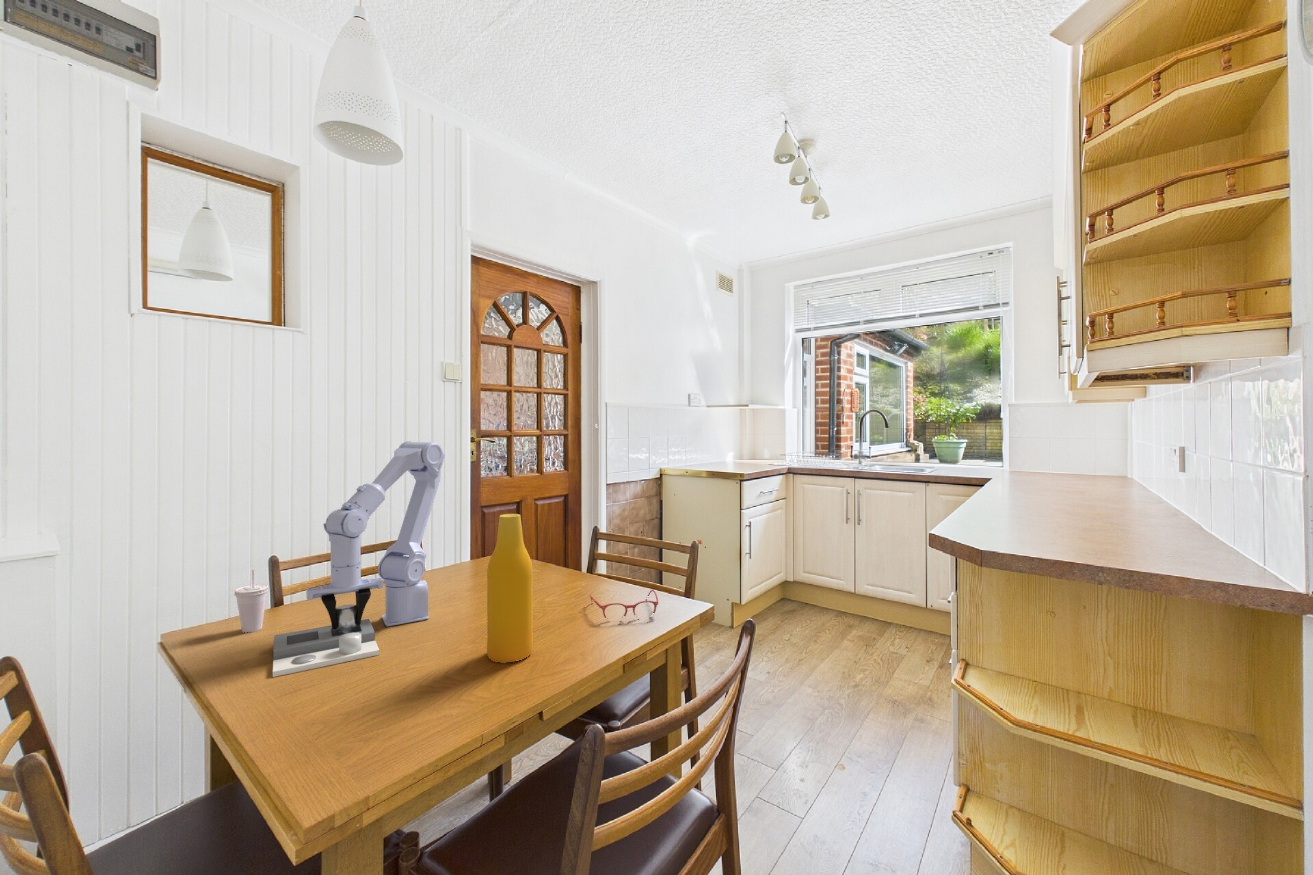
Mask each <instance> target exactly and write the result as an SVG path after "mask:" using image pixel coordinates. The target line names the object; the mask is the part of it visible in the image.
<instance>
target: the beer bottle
mask: <svg viewBox="0 0 1313 875" xmlns="http://www.w3.org/2000/svg"><path fill="white" fill-rule="evenodd" d="M533 568H534V567H533V563H532V558H531V557H530V555H529V552H528V550H527V548H526V545H525V543H524V535H523V526H522V518H521V514H518V513H504V514H500V515H499V518H498V526H497V536H496V543H495V548H494V550H493V551H492V554H491V556H490V559H489V561H488V564H487V568H486V600H487V601H486V603H487V604H486V612H487V615H486V617H487V620H486V624H487V625H486V626H487V627H486V628H487V632H486V633H487V634H486V639H487V640H486V651H487V652H486V653H487V657H488V659H489V660H490V659H491V660H490V661H492V660H493V661H492V662H494V661H496V662H495V663H497V662H513V661H516V660H520V659H523V658H526V657H527V656H529V655H530V654H531V655H532V653H533V649H534V635H533V634H534V633H533V632H534V627H533V625H534V621H533V618H534V617H533V616H534V612H533V611H534V608H533V607H534V606H533V605H534V604H533V603H534V602H533V601H534V600H533V599H534V596H533V594H534V593H533V592H534V591H533V588H534V586H533V584H534V583H533V582H534V581H533V580H534V579H533V578H534V577H533V575H534V574H533V573H534V572H533V571H534V569H533ZM531 652H532V653H531ZM531 655H530V656H531ZM530 656H529V657H530ZM527 658H528V657H527ZM527 658H526V659H527ZM513 663H514V662H513Z"/></svg>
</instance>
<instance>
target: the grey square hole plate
mask: <svg viewBox="0 0 1313 875" xmlns="http://www.w3.org/2000/svg"><path fill="white" fill-rule="evenodd" d="M355 633H361V643H366V642H371V641H376V637H375V636H376V632H375V630H374V627H373V625H372V623H371V620H370V618H366V619H361V624H360V625H357V632H355ZM340 636H342V635H339V636H336V629H334V630H333V629H332V625H331V624H330V625H326V626H325V625H324V626H320V627H314V628H310V629H309V628H307V629H303V630H297V631H291V632H286V633H279V634H275V635H273V637H274V638H273V654H272V656H273V661H274V660H279V659H284V658H289V657H294V656H299V655H304V654H309V653H315V652H320V651H325V650H330V649H335V648H339V637H340Z"/></svg>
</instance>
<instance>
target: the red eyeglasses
mask: <svg viewBox="0 0 1313 875" xmlns="http://www.w3.org/2000/svg"><path fill="white" fill-rule="evenodd" d="M652 592H653V593H654V595H655V598H656V601H653V600H644V601H643V600H642V601H639V602H636V603H635V604H628V605H627V604H624V603H622V602H620V603H619V602H614V603H607V604H605V605H603V604H601V603H599V602H598V601H597V600H595V598H594V597H593V596H592V595H591V594H590V593H589V594H588V596H589V597H590V601H591V602H593V603H595V605H596V606H597V607H598V608H600V609H601V610H602V614H603V617H604V618H606V617H607V616H606V614H605V611H606V609H607V608H608V607H609V606H615V605H616V606H617V605H618V606H622V607H624V611H625V612H624V614H623V616H625V617H626V616H627V614H628V609H632V613H633V615H634V616H635V615H636V616H637V614H636V612H635V610H636V607H637V606H638V605H640V604H642V603H643V604H644V603H651V604H653V606H654V608H653V611H652V613H654V614H655V613H656V610H657V606H658V605H659V599H658V595H657V593H656V591H655V589H651V590H650V591H649V592H648V594H647V596H649V597H650V595H651V593H652Z"/></svg>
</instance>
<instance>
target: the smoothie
mask: <svg viewBox="0 0 1313 875" xmlns="http://www.w3.org/2000/svg"><path fill="white" fill-rule="evenodd" d="M268 592H269V585H267V584H256V570H255V569H252V570H251V585H246V586H245V585H244V586H241V587H238V588H236V589H234V594H233V596H235V597H236V602H237V610H238V616H239V620H240V627H241V631H242V633H244V632H245V633H247V632H248V633H254V632H257V631H260V630H262V629H263V624H264V623H263V622H264V615H265V608H266V602H267V600H266V599H267V594H268Z"/></svg>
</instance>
